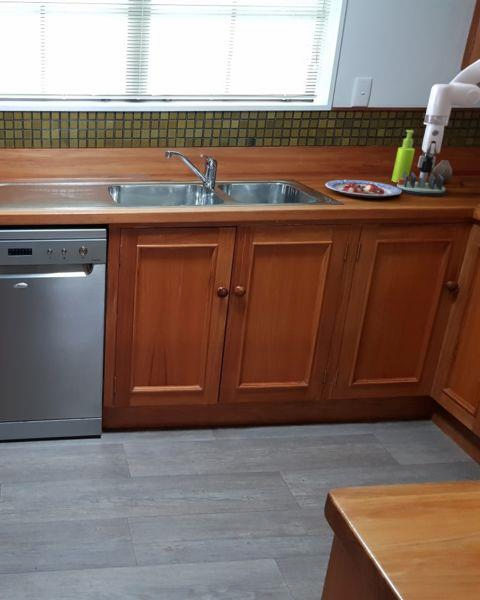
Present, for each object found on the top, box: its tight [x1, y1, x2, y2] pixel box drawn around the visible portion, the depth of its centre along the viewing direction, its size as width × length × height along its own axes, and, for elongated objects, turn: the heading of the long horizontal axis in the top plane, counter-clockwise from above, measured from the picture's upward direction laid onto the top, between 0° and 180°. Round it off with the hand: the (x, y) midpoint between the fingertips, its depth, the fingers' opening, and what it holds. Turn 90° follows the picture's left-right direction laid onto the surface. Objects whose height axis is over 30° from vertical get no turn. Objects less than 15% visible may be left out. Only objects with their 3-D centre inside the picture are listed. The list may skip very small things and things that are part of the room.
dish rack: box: [396, 155, 446, 193], centre depth 225 cm, size 16×16×12 cm
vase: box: [431, 159, 453, 185], centre depth 242 cm, size 7×7×9 cm
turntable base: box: [395, 185, 447, 198], centre depth 228 cm, size 17×17×1 cm
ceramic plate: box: [325, 179, 402, 199], centre depth 224 cm, size 26×26×3 cm
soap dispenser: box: [391, 129, 416, 183], centre depth 241 cm, size 6×7×20 cm
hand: (424, 170), depth 225 cm, fingers open, 5 cm apart
